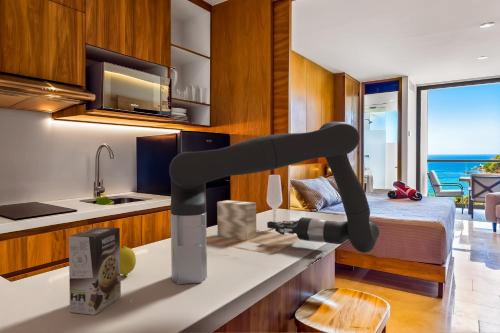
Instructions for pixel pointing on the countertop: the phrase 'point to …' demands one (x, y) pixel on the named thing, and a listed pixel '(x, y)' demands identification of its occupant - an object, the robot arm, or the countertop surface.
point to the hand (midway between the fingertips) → (268, 224)
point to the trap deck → (257, 241)
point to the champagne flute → (274, 193)
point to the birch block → (236, 219)
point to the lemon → (127, 260)
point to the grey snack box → (94, 269)
